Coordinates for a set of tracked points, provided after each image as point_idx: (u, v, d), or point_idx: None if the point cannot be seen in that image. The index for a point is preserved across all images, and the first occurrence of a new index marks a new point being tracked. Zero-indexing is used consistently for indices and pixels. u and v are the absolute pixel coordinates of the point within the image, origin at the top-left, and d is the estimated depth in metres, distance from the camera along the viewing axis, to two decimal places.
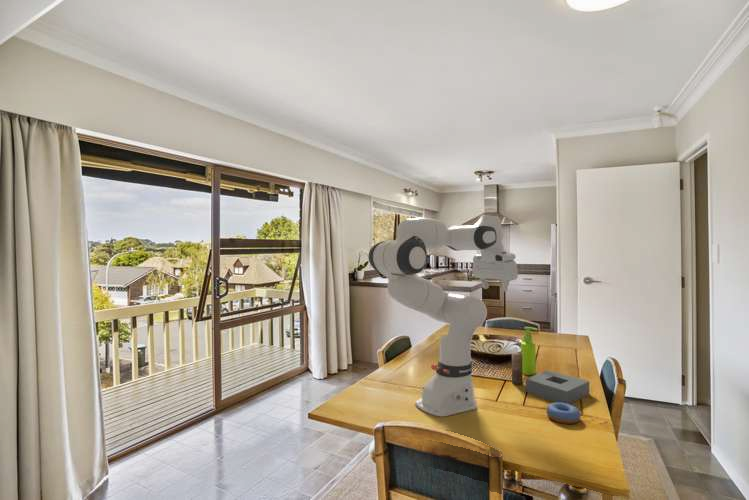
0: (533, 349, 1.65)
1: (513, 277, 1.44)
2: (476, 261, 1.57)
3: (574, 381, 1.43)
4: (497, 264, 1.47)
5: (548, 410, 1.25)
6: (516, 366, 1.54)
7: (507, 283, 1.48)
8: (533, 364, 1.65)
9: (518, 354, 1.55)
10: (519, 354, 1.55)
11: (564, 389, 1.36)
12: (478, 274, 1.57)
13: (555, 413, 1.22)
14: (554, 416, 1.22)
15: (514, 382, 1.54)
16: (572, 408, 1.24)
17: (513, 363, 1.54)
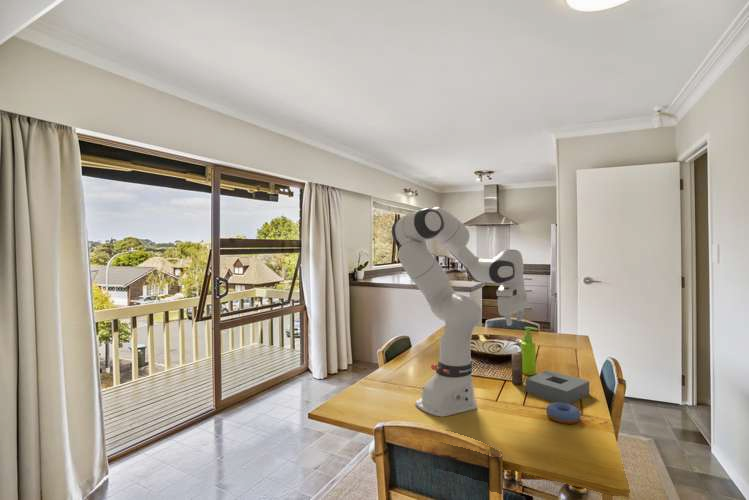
0: (533, 349, 1.65)
1: (500, 313, 1.49)
2: None
3: (574, 381, 1.43)
4: None
5: (548, 410, 1.25)
6: (516, 366, 1.54)
7: (507, 318, 1.51)
8: (533, 364, 1.65)
9: (518, 354, 1.55)
10: (519, 354, 1.55)
11: (564, 389, 1.36)
12: None
13: (555, 413, 1.22)
14: (553, 416, 1.22)
15: (514, 382, 1.54)
16: (572, 408, 1.24)
17: (513, 363, 1.54)
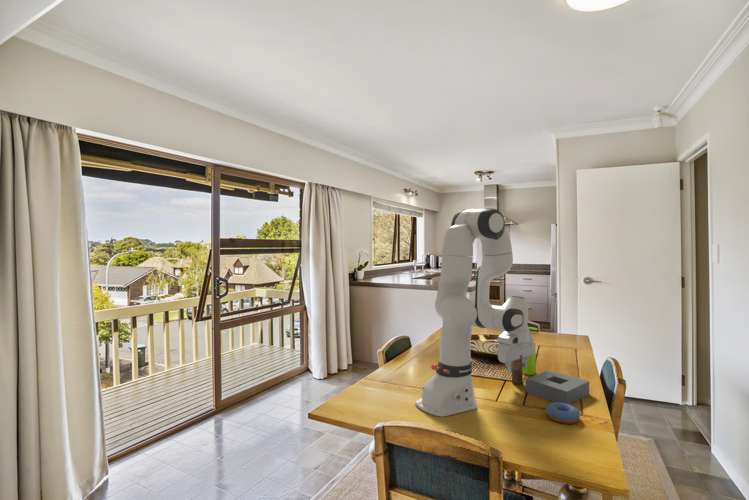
0: None
1: (500, 359, 1.50)
2: None
3: (574, 381, 1.43)
4: None
5: (547, 410, 1.25)
6: (516, 366, 1.54)
7: (507, 365, 1.52)
8: (533, 364, 1.65)
9: None
10: None
11: (564, 389, 1.36)
12: None
13: (554, 413, 1.22)
14: (553, 416, 1.22)
15: (514, 382, 1.54)
16: (571, 408, 1.24)
17: (513, 363, 1.54)
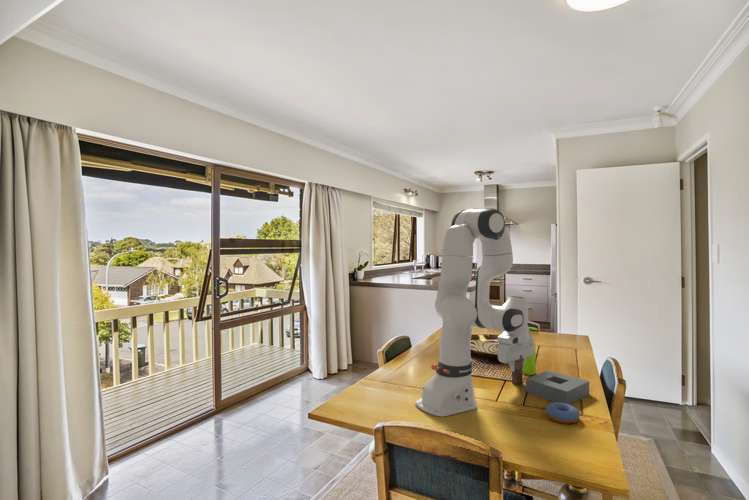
0: None
1: (500, 359, 1.50)
2: None
3: (574, 381, 1.43)
4: None
5: (547, 410, 1.25)
6: (516, 366, 1.54)
7: (510, 364, 1.53)
8: (533, 364, 1.65)
9: None
10: None
11: (564, 389, 1.36)
12: None
13: (554, 413, 1.22)
14: (553, 415, 1.22)
15: (514, 382, 1.54)
16: (571, 408, 1.24)
17: None
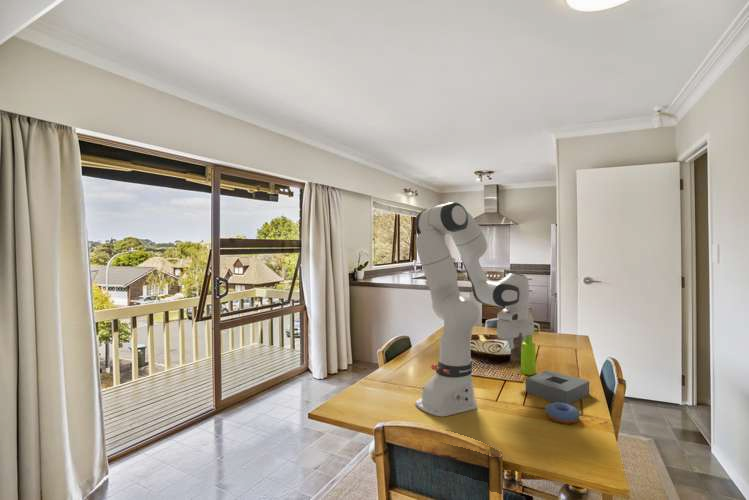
0: (533, 349, 1.65)
1: (499, 335, 1.50)
2: None
3: (574, 381, 1.43)
4: None
5: (547, 410, 1.25)
6: (515, 344, 1.53)
7: (509, 341, 1.52)
8: (533, 364, 1.65)
9: None
10: None
11: (564, 389, 1.36)
12: None
13: (554, 413, 1.22)
14: (552, 415, 1.22)
15: (512, 360, 1.54)
16: (571, 408, 1.24)
17: None
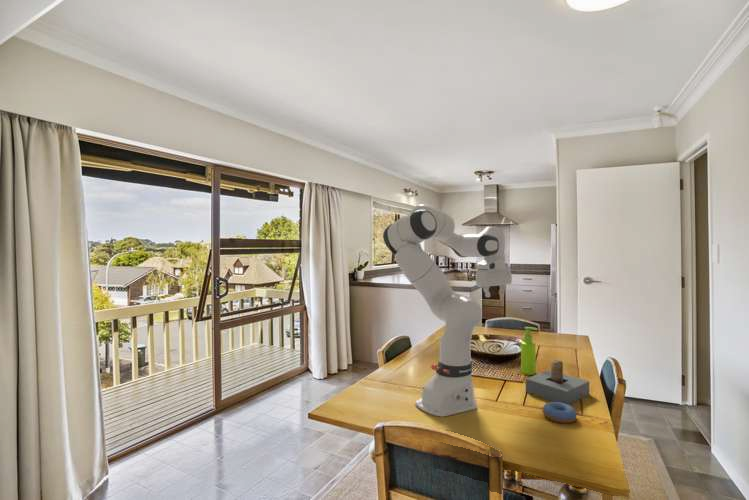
0: (533, 349, 1.65)
1: (478, 284, 1.60)
2: None
3: (574, 381, 1.43)
4: None
5: (544, 410, 1.25)
6: (557, 374, 1.43)
7: (485, 290, 1.62)
8: (533, 364, 1.65)
9: (558, 362, 1.44)
10: (559, 362, 1.44)
11: (564, 389, 1.36)
12: None
13: (551, 413, 1.22)
14: (550, 415, 1.23)
15: None
16: (568, 407, 1.24)
17: (553, 371, 1.44)
